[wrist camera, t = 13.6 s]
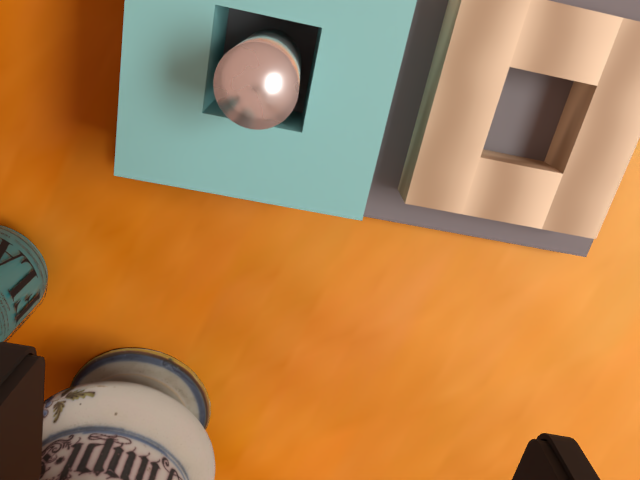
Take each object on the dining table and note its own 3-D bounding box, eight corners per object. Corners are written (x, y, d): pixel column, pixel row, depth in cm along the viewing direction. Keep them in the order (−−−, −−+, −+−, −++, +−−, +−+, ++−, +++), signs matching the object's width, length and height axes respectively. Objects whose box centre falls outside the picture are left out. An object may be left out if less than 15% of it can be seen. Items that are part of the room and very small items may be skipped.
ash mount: (654, 29, 29) (684, 32, 27) (575, 222, 33) (595, 239, 31) (453, -17, 28) (466, -19, 25) (397, 189, 32) (405, 203, 30)
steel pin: (306, 35, 28) (306, 51, 20) (295, 97, 30) (291, 136, 22) (244, 22, 28) (218, 33, 20) (236, 86, 29) (208, 121, 21)
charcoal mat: (680, -5, 30) (698, -5, 28) (575, 247, 35) (586, 257, 34) (151, -132, 27) (143, -139, 25) (129, 164, 32) (122, 172, 31)
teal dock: (407, -39, 27) (429, -48, 23) (353, 189, 32) (362, 220, 27) (162, -97, 26) (131, -118, 21) (142, 149, 31) (113, 175, 26)
